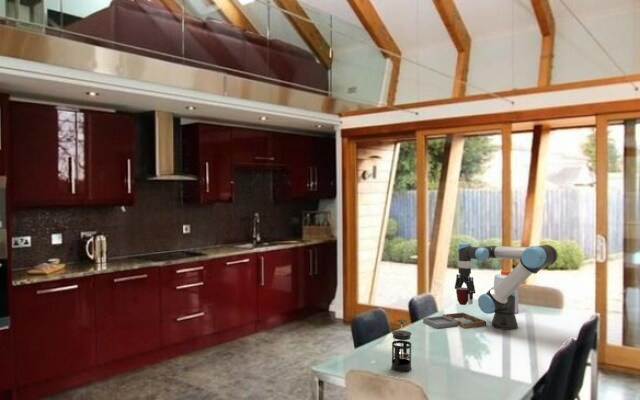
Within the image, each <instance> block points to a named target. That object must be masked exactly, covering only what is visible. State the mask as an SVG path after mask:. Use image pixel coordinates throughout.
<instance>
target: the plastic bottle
mask: <svg viewBox="0 0 640 400" xmlns="http://www.w3.org/2000/svg"><path fill="white" fill-rule="evenodd" d="M510 272H511V271H510V270H501V271H500V273H499V274H494V279H493V287H497V286H498V285H499V284H500V283H501V282H502V280H503V279H504V278H505V277H506V276H507V275H508V274H509V273H510ZM514 292H515V315H516V314H518V313H519V312H520V310H519V309H520V308H519V293H518V288H517V289H516V290H515V291H514Z"/></svg>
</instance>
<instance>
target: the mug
mask: <svg viewBox="0 0 640 400" xmlns="http://www.w3.org/2000/svg"><path fill="white" fill-rule="evenodd" d="M455 291H456V298H457V299H458V301H457V302H458V304H459V305H461V306H466V305H467V304H468V293H469V292H468V289H467V287H463V286H462V287H461V288H456V289H455ZM457 299H456V300H457Z"/></svg>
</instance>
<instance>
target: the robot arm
mask: <svg viewBox="0 0 640 400" xmlns="http://www.w3.org/2000/svg"><path fill="white" fill-rule="evenodd" d="M457 252H458V273H457V274H456V280H455V282H454V283H455V284H454V289H455V290H456V288H461V287H462V288H463V284H465V285H466V288H467V289H468V292H469V293H468V302H467V304H468V305H473V301H474V300H473V299H474V294H476V289H475V283H474V277H473V276H470V275H471V273H472V268H471V267H472V260H479V261H487V259H503V260H505V259H507V260H518V261H519V263H518V264H517V265H515V267H514V268H513V269H512V270H511V271H510V273H509V274H508V275H507V276H506V277H505V278H504V279H503V280H502V282H501V283H500V284H499V285H498V286H497V287H494V286H493V287H490V289H489V290H488V291H487V292H486V293H482V294H481V295H479V296H478V299H477V304H478V307H479V309H480V310H481V312H483V313H484V314H487V315H488V314H493V316H492V317H493V318H492V320H491V326H492V327H493V328H495V329H500V330H505V331H506V330H510V331H512V330H517V329H518V328H519V325H518V322H517V317H516V314H515V292H514V291H515V290H516V289H517V290H518V288H520V286H521V285H522V284H523V283H524V282H525V281H526V280H528V278H530V277H531V276H532V274H534V275H535V274H537V273H539V271H541V270H542V269H543V268H544V267H549V266H552V265H553V264H555V263H556V262H557V260H558V258H559V257H558V256H559V255H558V252H557V249H555V247H553V246H552V245H549V244H542V245H532V246H527V247H526V246H506V245H505V246H503V245H502V246H501V245H487V246H479V247H478V246H472V244H471V243H470V242H459V243H458V251H457ZM456 301H457V302H458V299H456Z"/></svg>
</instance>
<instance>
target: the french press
mask: <svg viewBox="0 0 640 400" xmlns="http://www.w3.org/2000/svg"><path fill="white" fill-rule="evenodd" d="M396 321H397V322H399V323H400V324H401V325H400V327H401V330H400V329H399V330H398V329H397V330H393V331H392V332H391V333H392V338H393V339H394V341H392V342H391V368H390V369H391V370H392V371H393V372H397V373H408V372H411V371H412V370H413V369H412V343H411V342H410V341H409V340H410V339H411V336H412V332H411V331H407V330H403V325H404V323H406V322H407V320H406V319H402V318H401V319H398V320H396ZM396 344H400V345H396ZM407 349H409V353H407V351H408V350H407Z"/></svg>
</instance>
